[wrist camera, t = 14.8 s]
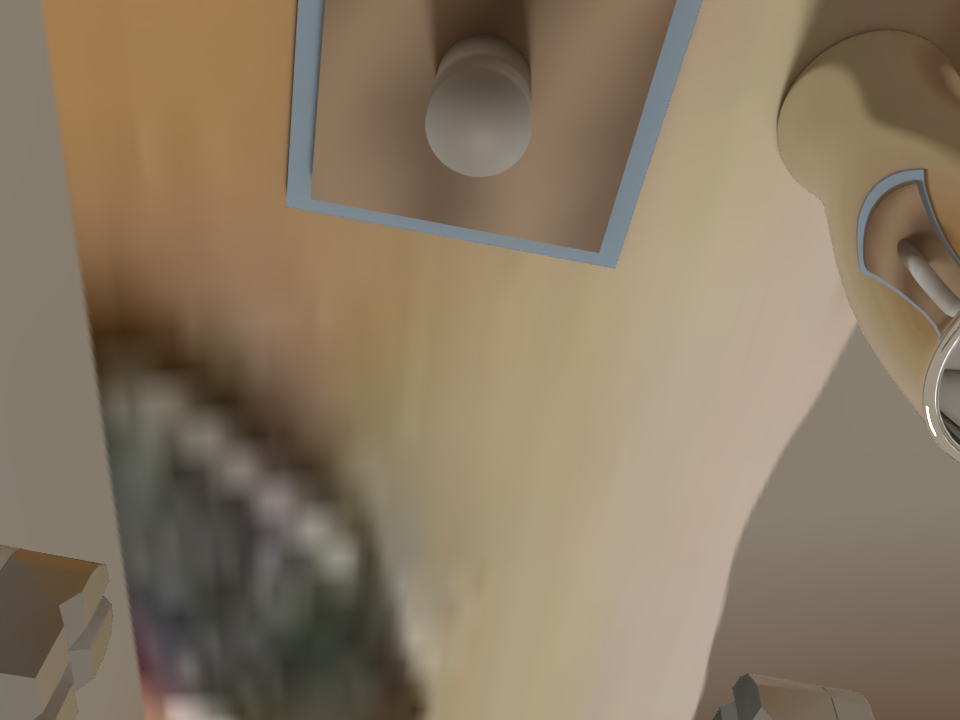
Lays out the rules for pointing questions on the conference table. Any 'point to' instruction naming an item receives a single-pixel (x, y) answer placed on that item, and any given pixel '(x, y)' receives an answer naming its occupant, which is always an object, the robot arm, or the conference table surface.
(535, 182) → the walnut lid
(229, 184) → the conference table surface
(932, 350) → the beer glass
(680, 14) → the slate mat
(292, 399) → the conference table surface
